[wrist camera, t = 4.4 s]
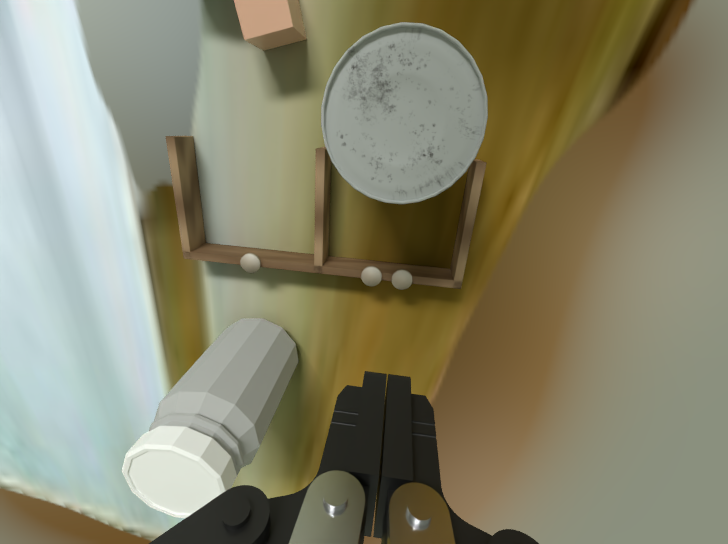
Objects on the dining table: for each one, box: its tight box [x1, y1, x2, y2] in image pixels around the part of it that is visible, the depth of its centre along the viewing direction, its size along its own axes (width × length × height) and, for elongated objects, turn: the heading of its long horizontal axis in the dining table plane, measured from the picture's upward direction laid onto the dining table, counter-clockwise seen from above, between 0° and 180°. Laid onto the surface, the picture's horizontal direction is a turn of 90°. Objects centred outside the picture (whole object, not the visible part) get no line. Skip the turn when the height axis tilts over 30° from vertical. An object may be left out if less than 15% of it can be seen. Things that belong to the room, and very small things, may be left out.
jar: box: [122, 318, 298, 518], centre depth 34 cm, size 10×10×18 cm
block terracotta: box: [234, 0, 307, 51], centre depth 27 cm, size 4×4×4 cm
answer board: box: [166, 136, 486, 290], centre depth 33 cm, size 12×28×3 cm, turn 86°
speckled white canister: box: [321, 22, 488, 204], centre depth 25 cm, size 10×10×12 cm
